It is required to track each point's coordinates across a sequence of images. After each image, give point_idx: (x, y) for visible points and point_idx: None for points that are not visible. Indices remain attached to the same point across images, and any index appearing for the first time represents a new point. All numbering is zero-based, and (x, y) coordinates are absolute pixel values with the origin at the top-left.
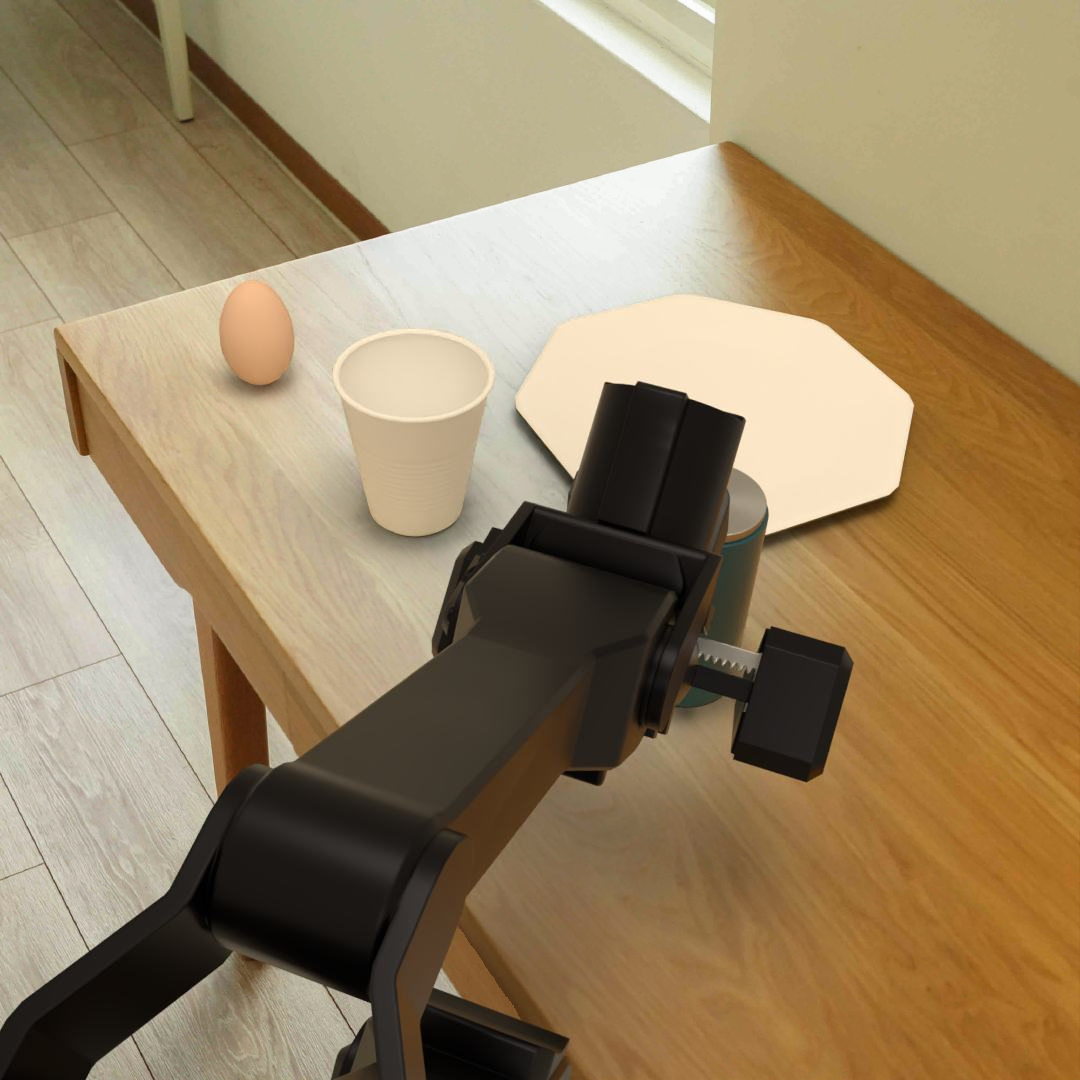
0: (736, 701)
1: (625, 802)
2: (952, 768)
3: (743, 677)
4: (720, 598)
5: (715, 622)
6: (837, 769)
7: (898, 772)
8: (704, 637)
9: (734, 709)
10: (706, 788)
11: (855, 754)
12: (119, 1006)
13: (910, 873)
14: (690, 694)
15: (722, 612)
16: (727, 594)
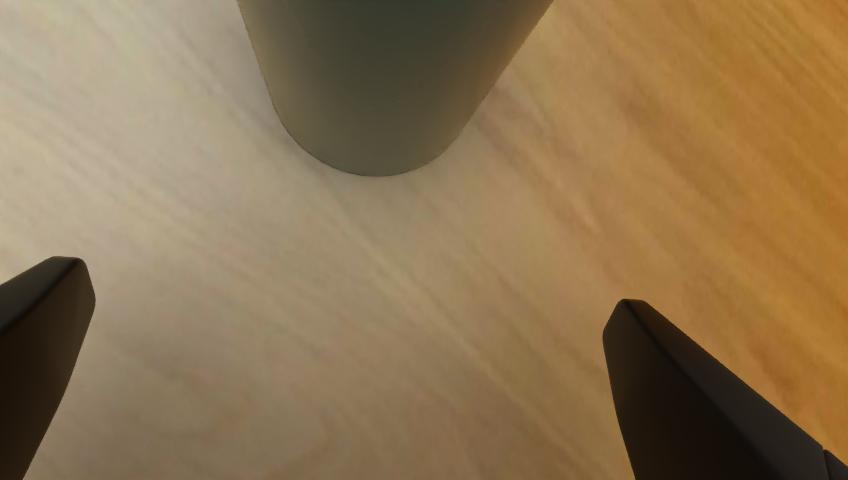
0: (638, 443)
1: (347, 423)
2: (822, 175)
3: (674, 400)
4: (512, 30)
5: (482, 76)
6: (667, 231)
7: (753, 207)
8: (451, 106)
9: (634, 467)
10: (476, 342)
11: (688, 191)
12: None
13: (797, 399)
14: (414, 162)
15: (506, 53)
16: (534, 12)
